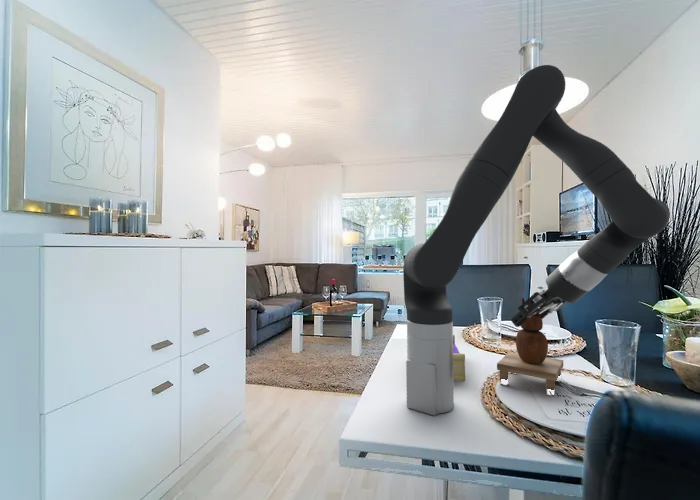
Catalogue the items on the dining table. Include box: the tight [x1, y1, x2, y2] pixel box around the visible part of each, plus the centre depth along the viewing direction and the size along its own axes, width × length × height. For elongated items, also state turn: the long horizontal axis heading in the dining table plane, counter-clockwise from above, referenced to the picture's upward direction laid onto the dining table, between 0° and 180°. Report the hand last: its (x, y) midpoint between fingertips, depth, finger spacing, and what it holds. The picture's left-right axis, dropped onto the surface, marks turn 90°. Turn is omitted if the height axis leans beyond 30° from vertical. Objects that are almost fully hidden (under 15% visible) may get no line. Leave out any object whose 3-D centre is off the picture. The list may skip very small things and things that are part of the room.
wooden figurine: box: [515, 297, 549, 364], centre depth 82 cm, size 7×6×15 cm
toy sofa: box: [453, 333, 466, 382], centre depth 94 cm, size 21×9×10 cm, turn 170°
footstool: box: [496, 351, 564, 390], centre depth 82 cm, size 12×12×5 cm
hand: (524, 321), depth 83 cm, fingers open, 8 cm apart
